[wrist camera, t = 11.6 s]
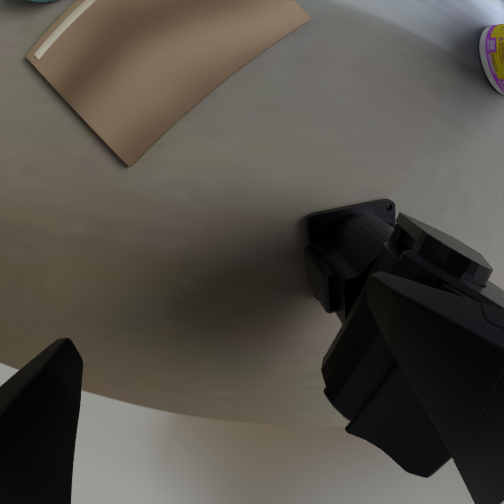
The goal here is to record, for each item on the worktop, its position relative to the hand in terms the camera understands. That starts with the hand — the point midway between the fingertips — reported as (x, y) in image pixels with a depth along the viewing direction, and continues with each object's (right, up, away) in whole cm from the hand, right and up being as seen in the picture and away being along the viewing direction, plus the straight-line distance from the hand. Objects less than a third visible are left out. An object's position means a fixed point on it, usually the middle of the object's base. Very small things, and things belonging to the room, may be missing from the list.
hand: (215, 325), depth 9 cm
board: (-4, +15, +6) cm, 17 cm away
